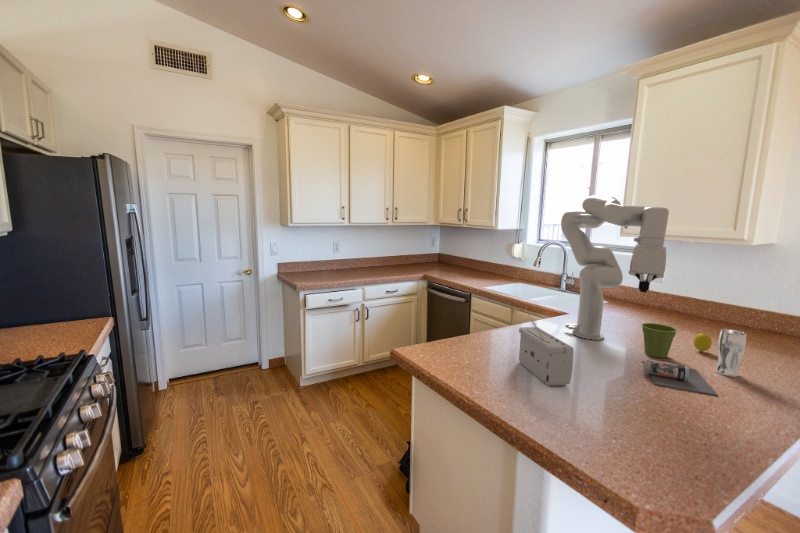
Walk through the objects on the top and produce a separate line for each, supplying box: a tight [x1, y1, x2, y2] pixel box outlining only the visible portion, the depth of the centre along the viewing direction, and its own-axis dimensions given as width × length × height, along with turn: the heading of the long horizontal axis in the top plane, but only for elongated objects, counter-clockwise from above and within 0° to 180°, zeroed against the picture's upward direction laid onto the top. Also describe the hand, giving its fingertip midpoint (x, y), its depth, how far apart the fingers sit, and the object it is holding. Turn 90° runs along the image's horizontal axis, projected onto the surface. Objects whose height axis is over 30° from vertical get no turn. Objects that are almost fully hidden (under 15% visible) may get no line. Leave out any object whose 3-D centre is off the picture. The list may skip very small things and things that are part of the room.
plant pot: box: [640, 322, 679, 359], centre depth 141 cm, size 12×12×11 cm
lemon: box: [693, 332, 712, 353], centre depth 146 cm, size 6×6×8 cm
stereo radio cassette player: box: [518, 309, 575, 387], centre depth 120 cm, size 21×8×20 cm, turn 9°
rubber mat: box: [641, 360, 719, 397], centre depth 121 cm, size 16×20×1 cm
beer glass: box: [714, 328, 747, 378], centre depth 125 cm, size 7×7×15 cm
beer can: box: [642, 358, 690, 381], centre depth 121 cm, size 5×5×12 cm
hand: (643, 291), depth 133 cm, fingers closed
